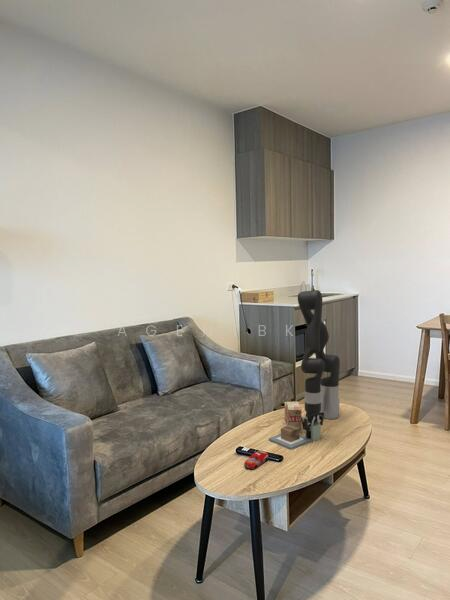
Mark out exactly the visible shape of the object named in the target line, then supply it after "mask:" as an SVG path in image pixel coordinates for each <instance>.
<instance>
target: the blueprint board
mask: <svg viewBox="0 0 450 600" xmlns="http://www.w3.org/2000/svg"><path fill="white" fill-rule="evenodd" d="M268 441H270V442H272V443H273V444H276V445H278V446H281V447H283V448H286V449H288V450H290V451H293V450H294V449H297V448H299V447H303V446H304V445H307V444H310V443H312V442H313V441H312V439H309V438H307V437H305V435H304V436H303V435H301V434H300V433H299V428H297V427H294V426H291V425H288V426H287V425H286V426H283V427H280V434H277V435H273V436H271V437H269V438H268Z"/></svg>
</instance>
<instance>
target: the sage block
mask: <svg viewBox="0 0 450 600" xmlns="http://www.w3.org/2000/svg"><path fill="white" fill-rule="evenodd" d="M309 423H310V422H309ZM310 424H311V423H310ZM321 426H322V425H321V424H317V423H313V426H311V438H310V439H312V442H316V441H320V439H321V438H322V437H321V436H322V435H321V434H322V431H321V430H322V428H321ZM308 428H309V425H308ZM304 437H306V430H304Z"/></svg>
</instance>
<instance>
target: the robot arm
mask: <svg viewBox="0 0 450 600" xmlns="http://www.w3.org/2000/svg"><path fill="white" fill-rule="evenodd" d="M297 303H298V306H299V308H300V311H301V314H302V316H303V319H304V321H305V324H306V327H307V328H306V330H305V333H304V352H303V357H302V361H301V365H300V368H301V371H302V373H304V374H312V375H313V374H315V375H314V376H312V377H307V378H306V379H305V381H304V382H305V383H304V411H305V416H304V417H302V416H301V428H302V429H303V431H305V430H306V437H307V438H309V439H310V438H311V426H313V423H317V424H321V426H323V425H324V419H327V420H336V419H338V418H339V417H340V398H339V393H340V391H339V381H340V366H341V365H340V364H341V362H340V357H339V356H338V355H336V354H335V355H333V354H327V353H326V354H325V352H324V349H325V347H326V346H327V345H328V341H329V339H330V335H329V331H328V328H327V325H326V324H325V323H324V322H323V321H322V313H323V295H322V293H321V291H320V290H318V289H316V290H315V289H313V290H307V291H306V290H304V291H300V292H298V294H297ZM312 311H314V313H313V312H312ZM311 355H315V357H310V356H311ZM323 373H330V375H329V376H325V377H323ZM322 377H323V378H322ZM309 422H310V423H311V424H310V423H309ZM308 425H309V428H308Z"/></svg>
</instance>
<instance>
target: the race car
mask: <svg viewBox="0 0 450 600" xmlns="http://www.w3.org/2000/svg"><path fill="white" fill-rule="evenodd" d="M268 457H269V453H268V452H266V451H260V450H259V451H256V452H253V454H251V455H250V456H248V458H247V460H245V461H244V464H243V466H244V468H245V469H247V470H257V468H260V467H261V465H264V464H265V463H266V462H268V461H269V459H268Z"/></svg>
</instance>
